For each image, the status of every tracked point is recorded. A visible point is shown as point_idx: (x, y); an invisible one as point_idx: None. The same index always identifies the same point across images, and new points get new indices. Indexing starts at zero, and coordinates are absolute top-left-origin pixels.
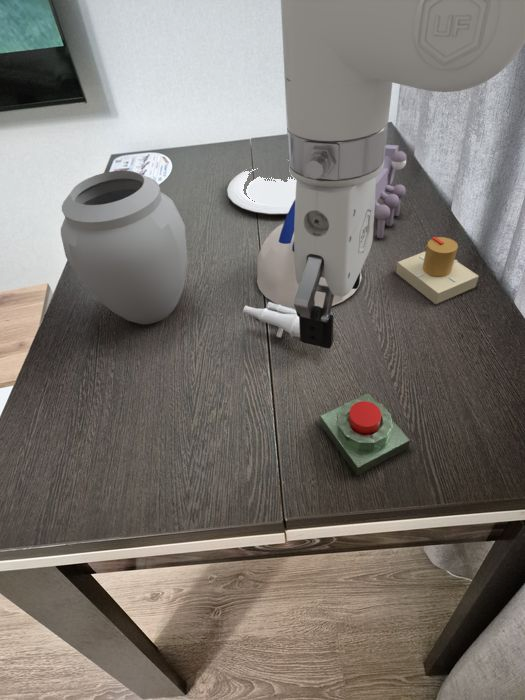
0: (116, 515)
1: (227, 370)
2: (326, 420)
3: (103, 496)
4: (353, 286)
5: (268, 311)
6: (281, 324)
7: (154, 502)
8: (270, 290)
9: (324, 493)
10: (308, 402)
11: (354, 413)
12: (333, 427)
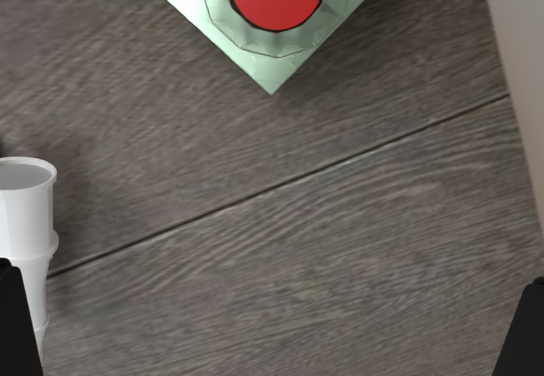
0: None
1: (192, 311)
2: (280, 77)
3: None
4: (14, 288)
5: None
6: (41, 278)
7: (504, 307)
8: None
9: (444, 27)
10: (215, 128)
11: (285, 13)
12: (297, 55)
